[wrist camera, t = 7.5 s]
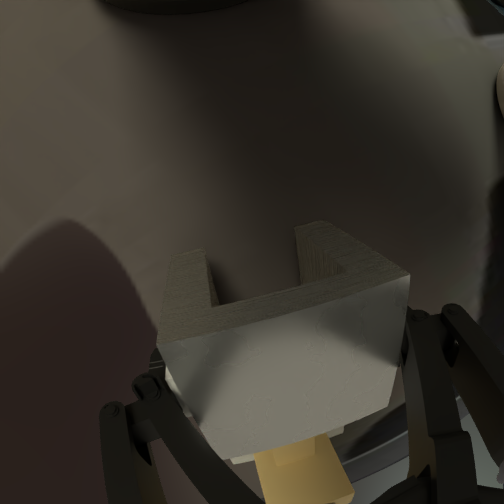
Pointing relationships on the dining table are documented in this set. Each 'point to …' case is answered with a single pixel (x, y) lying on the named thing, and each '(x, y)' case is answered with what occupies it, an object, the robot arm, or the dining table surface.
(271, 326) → the grey slotted block
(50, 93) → the dining table surface
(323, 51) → the dining table surface
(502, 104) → the vase
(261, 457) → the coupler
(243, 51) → the dining table surface
